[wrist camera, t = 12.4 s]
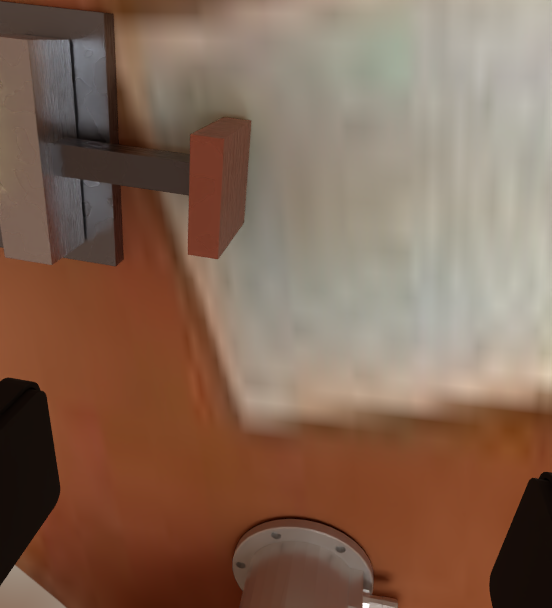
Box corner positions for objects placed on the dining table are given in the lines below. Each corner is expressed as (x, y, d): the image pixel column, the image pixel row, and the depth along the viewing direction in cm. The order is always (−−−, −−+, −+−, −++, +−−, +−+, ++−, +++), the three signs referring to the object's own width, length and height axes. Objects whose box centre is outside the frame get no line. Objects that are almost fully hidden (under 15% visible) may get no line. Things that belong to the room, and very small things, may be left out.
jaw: (255, 61, 28) (227, 67, 23) (241, 266, 34) (215, 310, 28) (19, 33, 29) (-61, 32, 24) (42, 235, 35) (-18, 270, 30)
